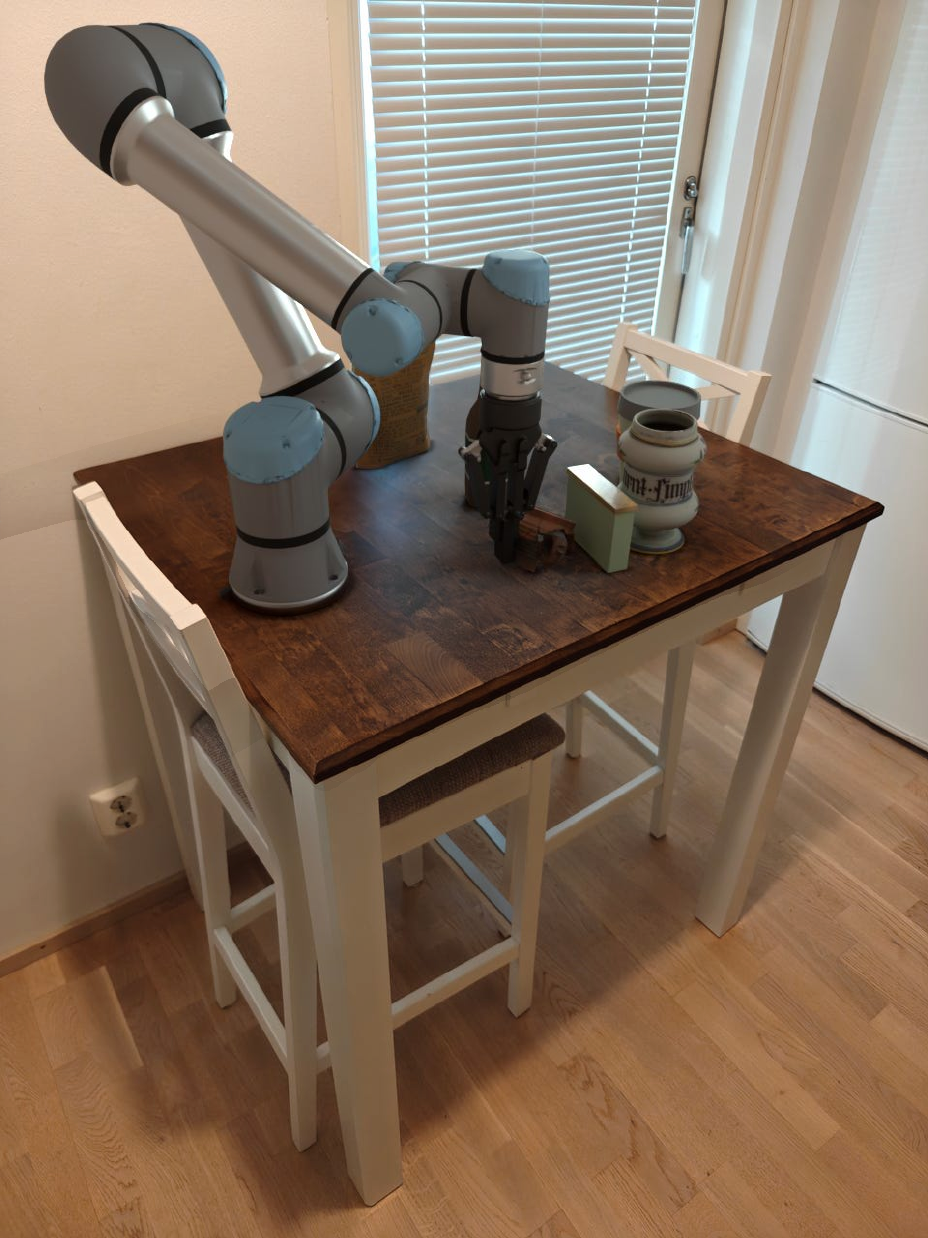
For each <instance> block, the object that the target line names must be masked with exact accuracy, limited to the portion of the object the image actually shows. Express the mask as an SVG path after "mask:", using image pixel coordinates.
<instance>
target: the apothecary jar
mask: <svg viewBox="0 0 928 1238" xmlns="http://www.w3.org/2000/svg"><path fill="white" fill-rule="evenodd" d="M698 427H699V426H698V420H696V418H695V417H693V416H692V415H690V414H688V413H686V412H683V411H679V410H673V409H648V410H644V411H642V412H639V413H638V414H636V415H635V417H634V419H633V423H632V425H631V427H630V428H628V429H627V430H625V431H624V432H623V434H622V435H621V436H620V438H619V441H618V450H619V453H620V455H621V456H622V458H623V459H624V460H625V464H624V473H623V480H622V482H621V483H620V482H619V484H618V485H617V486H616V487H617V488H618V489H619V490H620V491H622V492H623V493H624V494H625V495H626V496H628V497H629V498H630V499H631V500H632V501H634V502H635V503H636V504H637V505H638V509H637V510H636V511H635V514H634V521H633V529H632V536H631V543H630V551H633V552H637V553H641V554H645V555H646V554H647V555H666V554H670V553H674V552H676V551H679V549H680V548H682V546H683V545H684V544H685V536H684V533H683V532H682V530H681V529H680V528H681V527H683V526H685V525H687V524H688V523H689V522H691V521H692V520H694V518H695V517H696V515H697V513H698V511H699V508H700V507H699V505H700V504H699V503H700V502H699V497H698V495H697V493H696V492H695V490H694V489H693V482H694V474H695V468H696V467H698V466H699V465H701V463H702V462H703V461H704V460H705V458H706V455H707V451H708V449H707V448H708V447H707V443H706V441H705V439H704V437H703V436H702V435H701V433H699V432H698V431H699V430H698Z"/></svg>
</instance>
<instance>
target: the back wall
mask: <svg viewBox="0 0 928 1238" xmlns="http://www.w3.org/2000/svg"><path fill="white" fill-rule="evenodd" d="M566 473H567V475H568V476H567V487H566V489H567V490H566V500H565V513H564V517H565V518H567V519H570V520H571V521H573V522H575V523H576V526H575V527H574V533H575V536H574V537H575V543H577V544H578V545H579V547H581V548H582V549H583V550H584V551H585V552H586V553H587V554H588V555H589V556H590V557H591V558H592V559H593V560H594V561H595V562H596V563H597V564H598V565H599V566H600V567H601V568H602V569H603V570H604V571H605V572H606V573H607V574H609V573H614V572H619V571H624V570H627V569H628V565H629V557H630V552H631V549H630V543H631V536H632V529H633V521H634V514H635V511H636V510H637V509H638V505H637V504H636V503H635V502H634V501H632V500H631V499H630V498H629V497H628V496H626V495H625V494H624V493H623V492H622V491H620V490H619V489H618V488H617V486H616V485H615V484H613V483H612V482H611V481H610V480H609V479H607V477H605V476H604V475H602V474H601V473H600V472H598V471H597V469H595V468H594V467H593V466H592V465H590V464H589V463H586V464H581V465H574V466H569V467H567V468H566Z"/></svg>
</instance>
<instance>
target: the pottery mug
mask: <svg viewBox="0 0 928 1238" xmlns="http://www.w3.org/2000/svg"><path fill="white" fill-rule="evenodd" d="M523 514H524V518H523V519H522V520H520V526H519V535H518V537H515V538H513V551H512V563H511V564H513V565H514V566H516V567H518V568H520V569H523V570H526V571H528V572H531V573H534V572H535V571H536V568H537V565H538V564H539V563H540V565H541V566H542V567H544V568H546V569H547V568H553V567H555V566H556V565H557V564H558V563H559V562H560V561H561V560H562V559H563V557H564V555H565V554H566V552H573V551H574V548H575V543H576V541H575V537H574V536H575V533H574V527H575V526H576V523H575V522H573V521H571V520H570V519H567V518H565V516H561V514H560V515H559V514H557V513H554V512H553V511H552V512H551V511H549V510H546V509H543V508H540V507H538V506H536V505H535V507H534V509H533V510H532V511H528V510H527V511H525V512H524V513H523ZM539 535H540V536H542V540H539Z"/></svg>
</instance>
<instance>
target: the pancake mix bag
mask: <svg viewBox="0 0 928 1238" xmlns="http://www.w3.org/2000/svg"><path fill="white" fill-rule="evenodd" d="M436 341H437V339H436V340H435V341H434V342H433V343H432V344H431V345H429V346H428V347H426V348H425V349H424V350H423V351H422V352H421V353H420V355H419V356H418V358H417V359H415V360H414V361H413V362H412V363H411V364H410V365H408V366H406V367H404V368H402V369H401V370H399V371H397V372H396V373H394V374H391V375H388V376H383V377H377V376H371V375H368V374H365V373H363V372H361V371H360V370H358V369H357V368H356V367H355V366H354V365H353V364H352V363H351V371H352V372H353V373H354V374H355V375H357V376H361V377H362V378H363V379H364V380H365V381H366V382H367V383H368V384H369V386H370V387H371V388H372V390H373V392H374V394H375V396H376V398H377V401H378V404H379V410H380V424H379V429H378V432H377V435H376V437H375V439H374V440H373V442H372V443H371V445H370V446H369V448H368V450H367V451H366V453H365V454H364V455H363V456H362V457H361V458H360V459H358V460H357V461H356V462H355V463H356V465H355V468H356V469H362V470H377V469H384V468H385V467H389V466H391V465H393V464H396V463H398V462H401V461H404V460H406V459H409V458H411V457H414V456H416V455H417V456H418V455H420V454H422V453H426V452H429V450H430V448H431V435H430V431H429V428H428V414H429V413H428V412H429V400H430V373H431V370H432V365H433V360H434V356H435V351H436Z"/></svg>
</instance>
